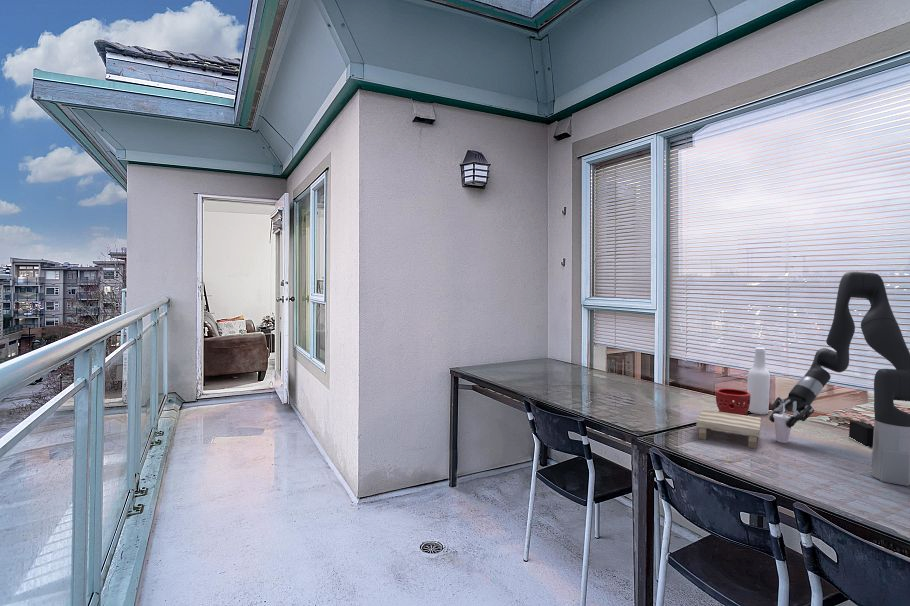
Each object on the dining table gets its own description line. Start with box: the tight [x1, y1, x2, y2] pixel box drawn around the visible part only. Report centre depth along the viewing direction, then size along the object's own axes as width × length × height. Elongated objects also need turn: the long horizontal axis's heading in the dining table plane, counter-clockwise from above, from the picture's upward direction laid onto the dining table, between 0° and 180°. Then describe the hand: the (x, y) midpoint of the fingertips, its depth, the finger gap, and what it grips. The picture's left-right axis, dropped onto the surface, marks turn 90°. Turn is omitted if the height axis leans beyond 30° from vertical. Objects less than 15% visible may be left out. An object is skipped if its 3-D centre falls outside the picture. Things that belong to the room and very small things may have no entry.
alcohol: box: [746, 346, 771, 416], centre depth 223 cm, size 9×9×30 cm
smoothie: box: [773, 404, 793, 444], centre depth 180 cm, size 6×6×14 cm
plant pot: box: [715, 388, 750, 416], centre depth 212 cm, size 13×13×12 cm
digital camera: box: [848, 420, 874, 448], centre depth 181 cm, size 10×5×7 cm, turn 169°
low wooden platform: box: [696, 409, 762, 449], centre depth 184 cm, size 20×20×7 cm
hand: (779, 423), depth 180 cm, fingers closed on smoothie, 6 cm apart
